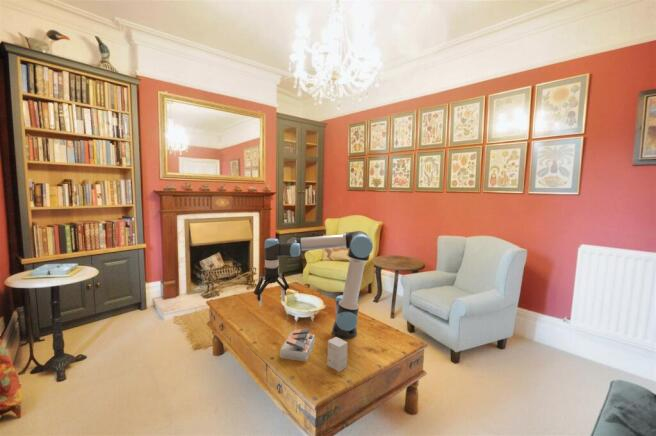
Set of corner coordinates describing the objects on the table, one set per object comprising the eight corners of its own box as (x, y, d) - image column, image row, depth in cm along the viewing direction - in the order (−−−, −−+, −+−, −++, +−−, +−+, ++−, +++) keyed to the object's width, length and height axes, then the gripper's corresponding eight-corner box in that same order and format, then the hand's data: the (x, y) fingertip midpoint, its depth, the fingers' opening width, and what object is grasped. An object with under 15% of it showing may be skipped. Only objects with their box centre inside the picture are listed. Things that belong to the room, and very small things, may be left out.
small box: (347, 366, 146) (348, 342, 144) (339, 372, 141) (339, 347, 140) (335, 359, 151) (335, 336, 150) (326, 365, 147) (327, 340, 145)
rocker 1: (310, 331, 166) (309, 328, 166) (308, 335, 162) (307, 331, 162) (295, 333, 168) (294, 329, 167) (293, 337, 164) (292, 333, 164)
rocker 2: (307, 337, 160) (306, 333, 160) (305, 341, 156) (304, 337, 156) (292, 339, 162) (291, 335, 162) (289, 342, 158) (288, 338, 158)
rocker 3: (303, 346, 154) (304, 343, 154) (301, 351, 150) (302, 347, 150) (288, 340, 156) (289, 337, 155) (285, 344, 152) (286, 341, 151)
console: (314, 343, 167) (314, 334, 166) (306, 361, 149) (306, 351, 149) (291, 340, 170) (291, 331, 169) (280, 358, 152) (280, 348, 151)
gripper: (289, 261, 172) (289, 296, 174) (247, 268, 158) (248, 305, 160) (294, 264, 166) (294, 300, 168) (252, 271, 152) (252, 310, 154)
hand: (272, 303), depth 164 cm, fingers open, 13 cm apart
